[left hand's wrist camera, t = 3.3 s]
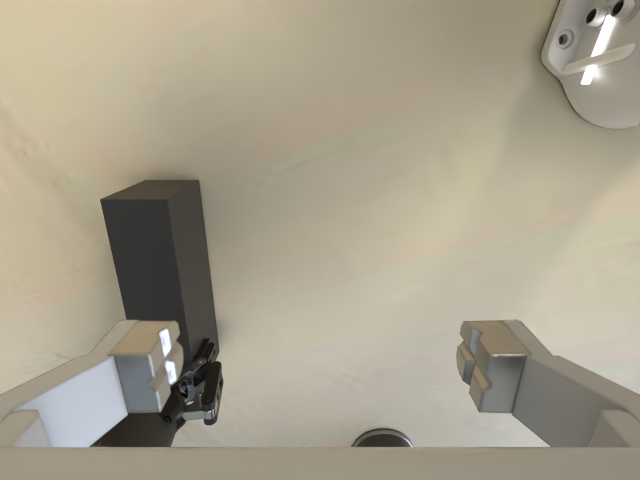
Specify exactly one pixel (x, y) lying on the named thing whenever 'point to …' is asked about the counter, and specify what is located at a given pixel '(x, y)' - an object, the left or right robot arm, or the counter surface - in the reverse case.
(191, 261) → the box
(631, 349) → the counter surface
